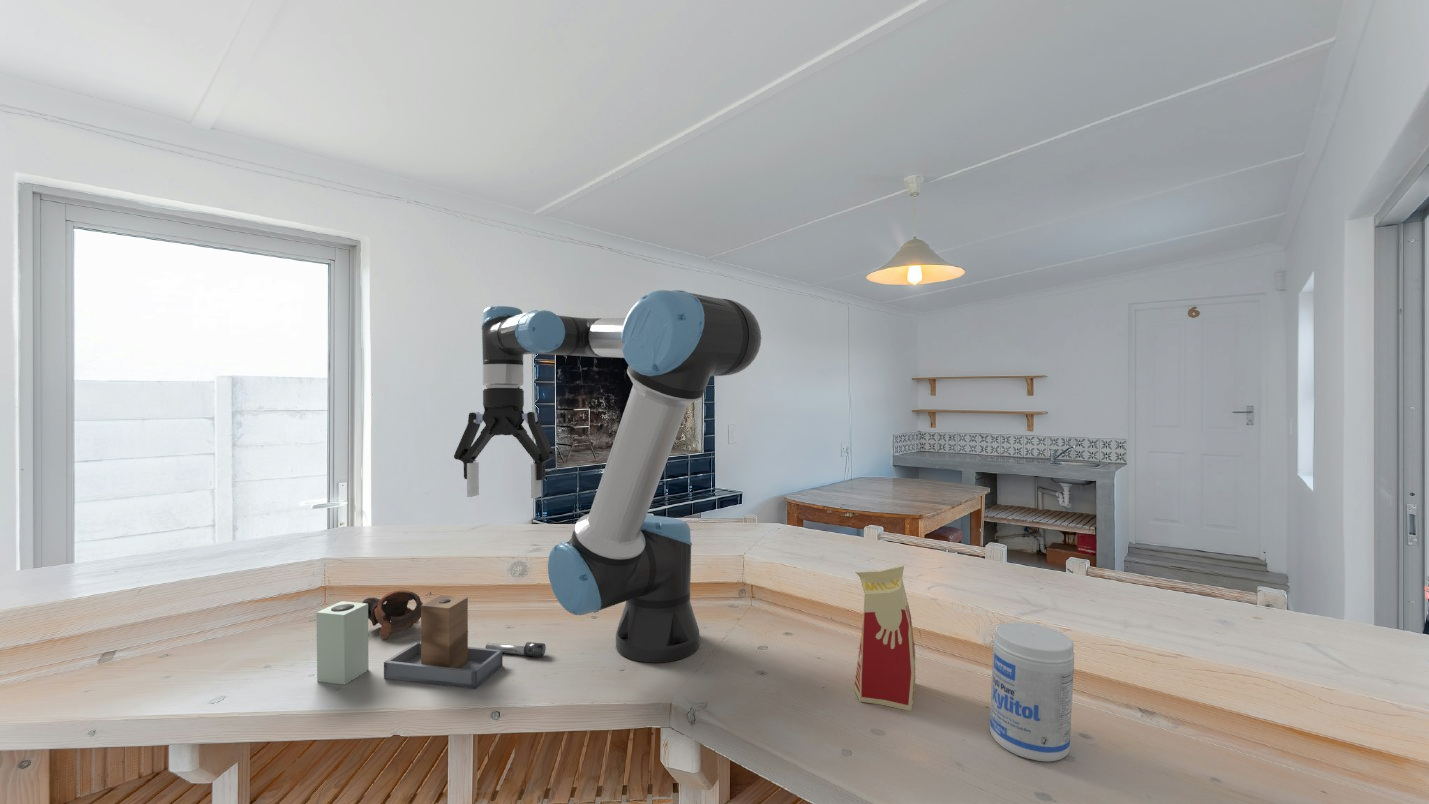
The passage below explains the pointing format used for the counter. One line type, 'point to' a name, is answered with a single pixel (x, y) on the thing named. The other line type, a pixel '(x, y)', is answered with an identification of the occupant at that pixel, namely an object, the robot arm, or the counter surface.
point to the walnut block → (445, 632)
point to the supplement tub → (1032, 690)
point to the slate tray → (444, 668)
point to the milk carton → (886, 642)
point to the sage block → (342, 642)
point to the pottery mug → (393, 612)
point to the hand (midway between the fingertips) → (504, 496)
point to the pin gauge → (520, 649)
